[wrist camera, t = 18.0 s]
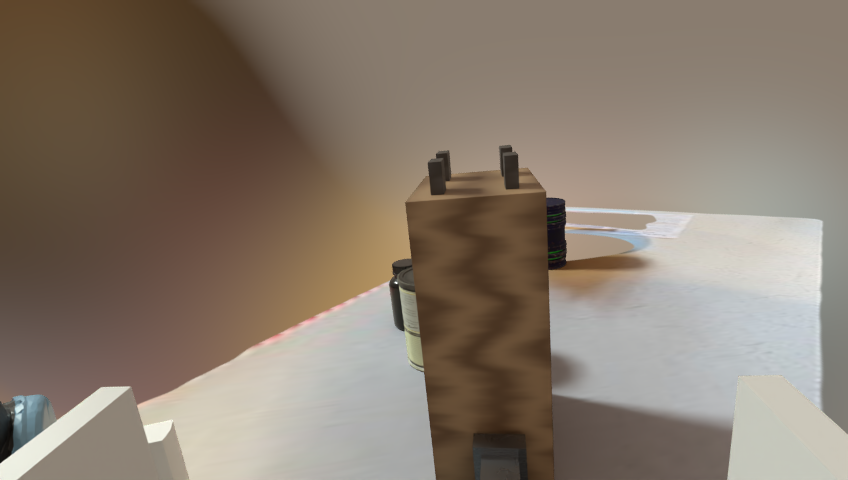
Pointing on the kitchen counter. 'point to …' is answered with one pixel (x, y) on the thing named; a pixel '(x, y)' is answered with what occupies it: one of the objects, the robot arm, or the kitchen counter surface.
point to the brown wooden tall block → (483, 310)
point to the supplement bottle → (398, 291)
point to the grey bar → (500, 456)
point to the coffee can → (410, 318)
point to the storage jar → (556, 233)
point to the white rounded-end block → (166, 451)
